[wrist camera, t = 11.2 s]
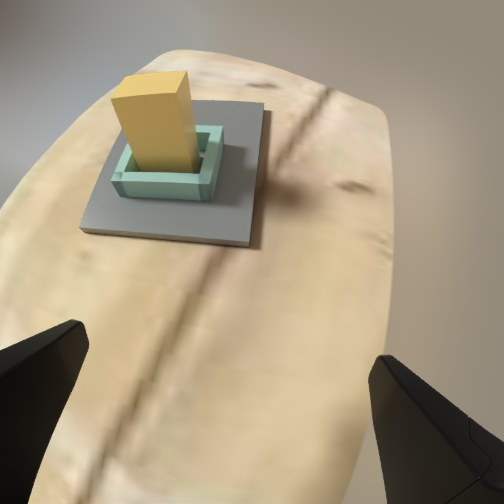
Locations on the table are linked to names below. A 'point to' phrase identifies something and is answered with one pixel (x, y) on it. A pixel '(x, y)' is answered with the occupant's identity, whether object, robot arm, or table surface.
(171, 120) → the block
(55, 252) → the table surface
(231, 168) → the plate
